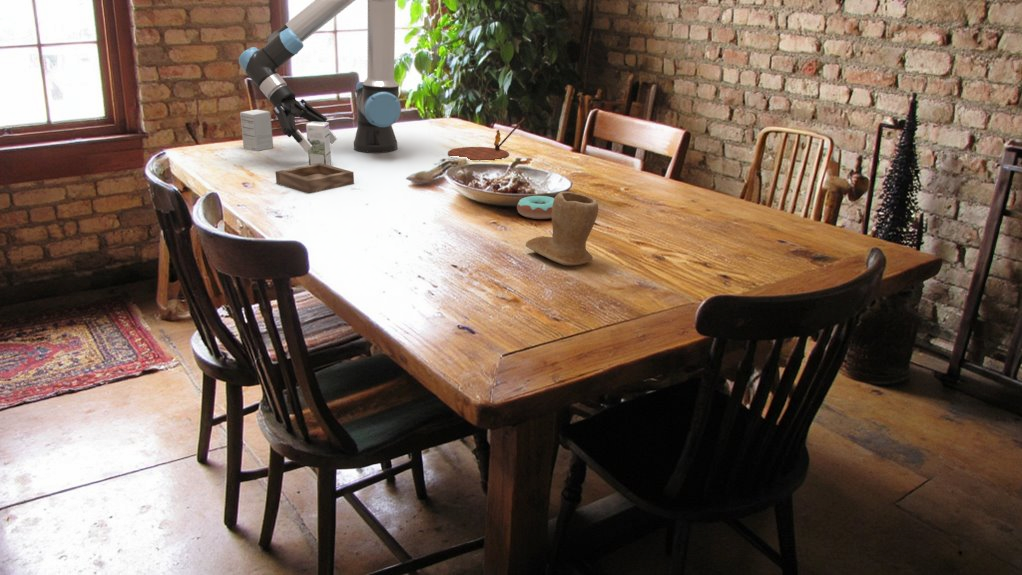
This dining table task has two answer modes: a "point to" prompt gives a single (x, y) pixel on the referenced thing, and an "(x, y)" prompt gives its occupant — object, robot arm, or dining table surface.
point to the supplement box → (256, 130)
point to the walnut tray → (314, 177)
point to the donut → (536, 207)
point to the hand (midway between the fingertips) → (322, 145)
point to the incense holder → (484, 150)
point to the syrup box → (319, 143)
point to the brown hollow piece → (568, 230)
